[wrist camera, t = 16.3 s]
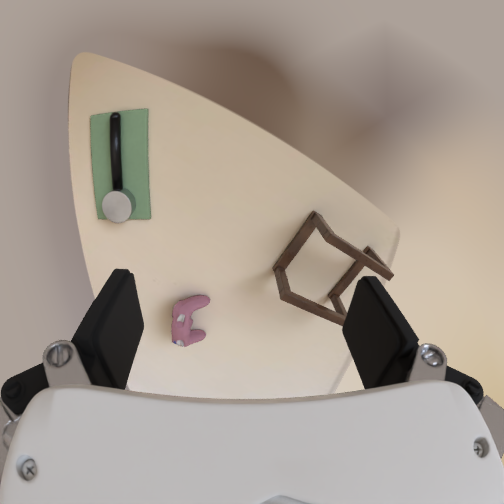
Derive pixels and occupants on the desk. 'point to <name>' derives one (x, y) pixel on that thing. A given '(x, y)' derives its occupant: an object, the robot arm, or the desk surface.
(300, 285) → the desk surface
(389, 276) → the rack
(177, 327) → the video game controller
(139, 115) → the mat
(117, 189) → the grey saucepan
